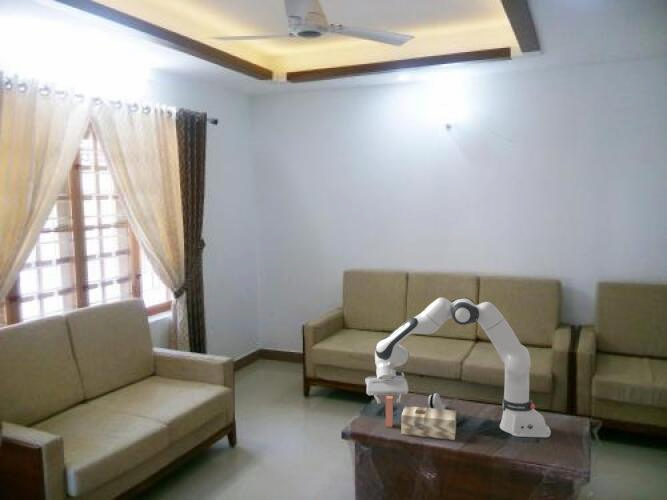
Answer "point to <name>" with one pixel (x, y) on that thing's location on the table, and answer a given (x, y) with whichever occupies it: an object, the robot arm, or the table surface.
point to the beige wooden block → (428, 422)
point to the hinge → (435, 402)
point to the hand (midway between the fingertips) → (388, 402)
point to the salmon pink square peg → (389, 411)
